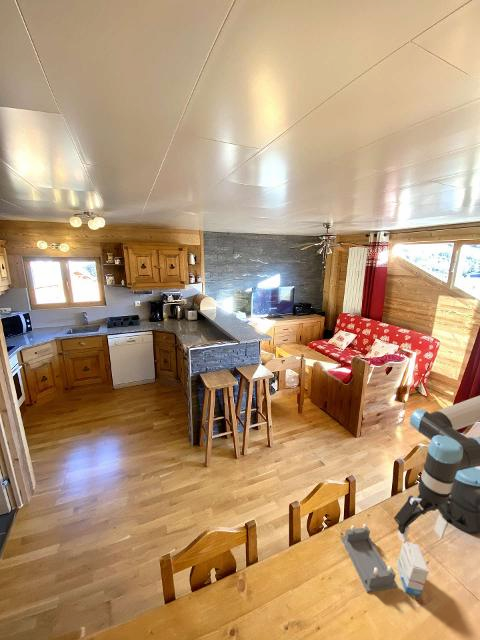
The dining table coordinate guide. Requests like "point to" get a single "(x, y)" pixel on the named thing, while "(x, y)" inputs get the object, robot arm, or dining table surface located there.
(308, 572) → the dining table surface
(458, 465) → the robot arm
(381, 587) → the cradle
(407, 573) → the ink box
